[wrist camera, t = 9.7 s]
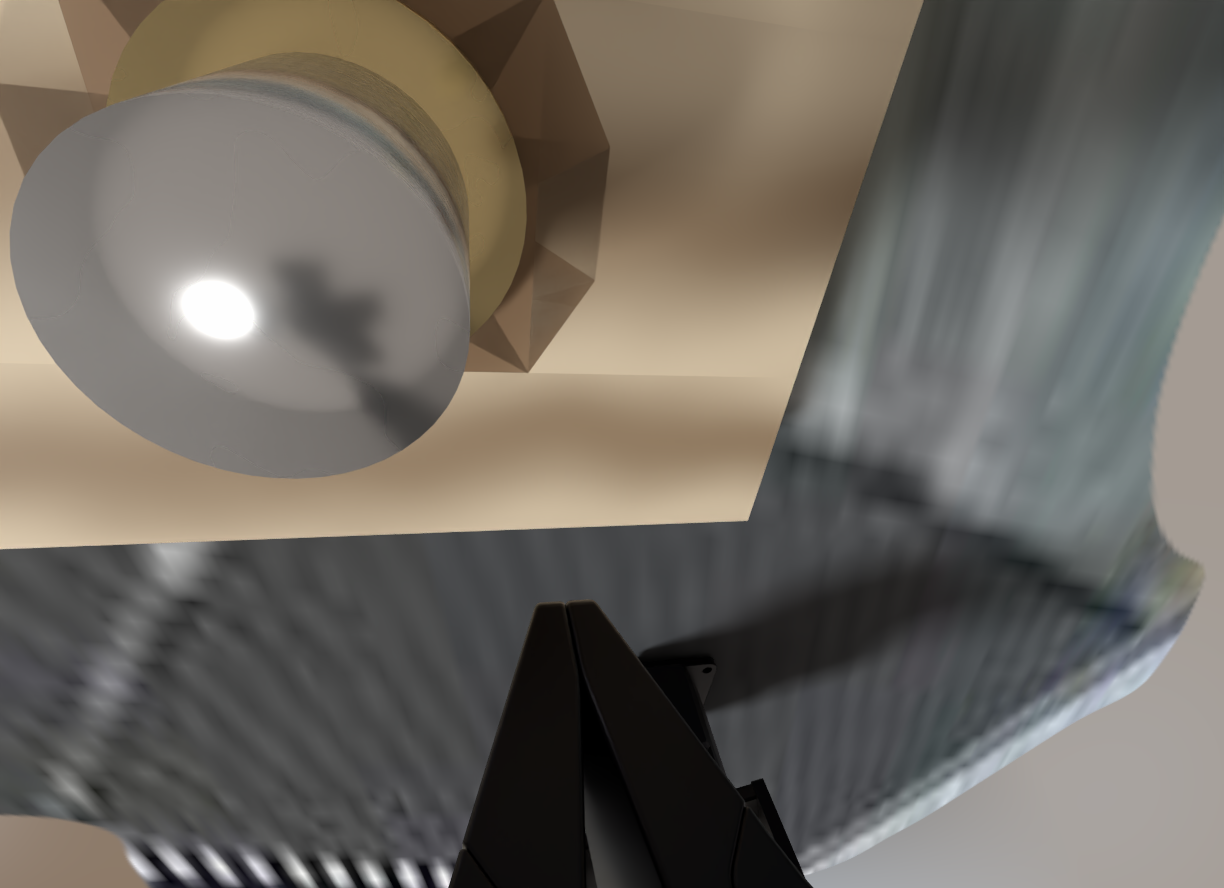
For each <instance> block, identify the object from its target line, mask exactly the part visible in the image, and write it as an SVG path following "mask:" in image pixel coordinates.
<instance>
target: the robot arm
mask: <svg viewBox="0 0 1224 888" xmlns="http://www.w3.org/2000/svg"><path fill="white" fill-rule="evenodd" d="M716 670H717V666H716V664H715V661H714V659H713V658H711V657H704V658H693V659H682V660H671V661H660V662H649V663H641V662H640V660H639V659H638V658H637V656H636V655H635V654H634V652H633V651H632V650H631V648H630V647H629V645H628V644H627V643H626V641H625V640H624V639H623V637H622V636H621V635H620V633H619V632H618V631H617V629H616V628H615V627H614V625H613V624H612V623H611V621H610V620H609V619H608V617H607V616H606V615H605V613H604V612H603V611H602V609H601V608H600V607H599V605H598V604H597V603H596V602H595V601H593V600H589V599H588V600H573V601H568V602H567V603H566V605H565V604H564V603H563V602H560V601H558V602H544V603H538V604H537V605H536V606H535V609H534V612H533V615H532V618H531V622H530V625H529V628H528V631H527V635H526V638H525V641H524V644H523V648H522V651H521V654H520V657H519V661H518V664H517V667H516V670H515V674H514V677H513V680H512V683H511V687H510V690H509V693H508V697H507V700H506V703H505V706H504V710H503V713H502V716H501V719H500V723H499V726H498V729H497V732H496V736H495V739H494V742H493V745H492V749H491V752H490V755H489V758H488V762H487V765H486V768H485V771H484V775H483V778H482V781H481V784H480V788H479V791H478V794H477V797H476V801H475V804H474V807H473V811H472V814H471V817H470V820H469V824H468V827H467V830H466V833H465V837H464V840H463V843H462V844H463V849H462V850H460V852H459V855H458V858H457V861H456V865H455V868H454V871H453V874H452V878H451V881H450V884H449V887H448V888H813V887H812V886H811V885H810V884H809V882H808V881H807V880H806V879H805V877H804V874H803V872H802V869H801V867H800V864H799V862H798V860H797V857H796V855H795V853H794V850H793V848H792V846H791V843H790V841H789V839H788V836H787V834H786V832H785V829H784V827H783V825H782V822H781V820H780V817H779V815H778V813H777V810H776V808H775V806H774V803H773V801H772V799H771V796H770V794H769V792H768V789H767V787H766V785H765V782H764V780H763V778H762V779H758V780H755V781H751V784H750V785H746V786H743V787H740V788H735V787H734V786H733V784H732V783H731V782H730V780H729V779H728V778H727V776H726V773H725V770H724V767H723V764H722V761H721V758H720V755H719V752H718V749H717V746H716V743H715V740H714V737H713V734H712V731H711V728H710V725H709V722H708V719H707V716H706V713H705V710H704V707H703V705H704V703H705V700H706V697H707V694H708V692H709V689H710V686H711V684H712V681H713V678H714V675H715V673H716ZM585 830H586V833H585Z"/></svg>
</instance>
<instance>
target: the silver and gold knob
mask: <svg viewBox="0 0 1224 888" xmlns="http://www.w3.org/2000/svg"><path fill="white" fill-rule="evenodd" d="M526 221H527V215H526V192H525V185H524V178H523V172H522V167H521V164H520V160H519V157H518V153H517V149H516V146H515V142H514V139H513V136H512V134H511V131H510V129H509V126H508V124H507V121H506V119H505V116H504V114H503V111H502V110H501V108H500V106H499V104H498V102H497V100H496V99H495V97H494V95H493V93H492V91H491V90H490V88H489V86H488V85H487V83H486V82H485V80H484V79H483V78H482V76H481V75H480V73H479V72H478V71H477V69H476V68H475V66H474V65H473V64H472V62H471V61H470V60H469V59H468V58H467V57H466V56H465V54H464V53H463V52H462V51H461V50H460V49H459V48H458V47H457V46H456V44H455V43H454V42H453V41H452V40H451V39H450V38H449V37H448V36H446V35H445V34H444V33H443V32H442V31H441V30H440V29H438V28H437V27H436V26H435V25H434V24H433V23H432V22H431V21H429V20H428V19H427V18H425V17H424V16H422V15H421V14H420V13H418V12H417V11H415V10H414V9H412V8H411V7H410V6H408V5H407V4H405V3H404V2H402V1H400V0H164V1H163V2H162V3H160V4H159V5H158V6H157V7H156V8H155V9H154V10H153V11H152V12H151V13H150V14H149V15H148V16H147V17H146V18H145V19H144V20H143V21H142V22H141V23H140V25H139V26H138V27H137V29H136V30H135V32H134V33H133V35H132V36H131V38H130V40H129V41H128V43H127V44H126V46H125V47H124V49H123V51H122V54H121V56H120V59H119V61H118V63H117V66H116V68H115V71H114V73H113V76H112V80H111V85H110V90H109V95H108V99H107V105H106V108H103V109H101V110H99V111H97V112H94V113H92V114H90V115H88V116H85V117H83V118H82V119H80V120H79V121H77V122H76V123H75V124H73V125H72V126H70V127H69V128H67V129H66V130H64V131H63V132H61V133H60V134H59V135H58V136H57V137H56V138H55V139H54V140H53V141H52V142H51V143H50V144H49V145H48V146H47V147H46V148H45V149H44V150H43V151H42V152H41V153H40V154H39V155H38V157H37V158H36V160H35V161H34V163H33V165H32V166H31V168H30V169H29V171H28V173H27V174H26V176H25V177H24V179H23V181H22V184H21V187H20V189H19V192H18V195H17V198H16V200H15V203H14V207H13V213H12V219H11V226H10V261H11V266H12V270H13V275H14V280H15V285H16V289H17V292H18V294H19V297H20V300H21V303H22V305H23V308H24V311H25V313H26V316H27V318H28V319H29V321H30V323H31V325H32V327H33V329H34V331H35V333H36V334H37V336H38V338H39V340H40V342H41V343H42V344H43V346H44V347H45V349H46V350H47V351H48V353H49V354H50V356H51V357H52V359H53V360H54V361H55V363H56V364H57V365H58V367H59V368H60V369H61V370H62V371H63V372H64V373H65V374H66V376H67V377H68V378H69V379H70V380H71V381H72V382H73V383H74V385H75V386H76V387H77V388H78V389H79V390H81V391H82V392H83V393H84V394H85V395H86V396H87V397H88V398H89V399H90V400H91V401H93V402H94V403H95V404H96V405H97V406H98V407H99V408H101V409H102V410H103V411H105V412H106V413H107V414H109V415H110V416H111V417H113V418H114V419H115V420H117V421H118V422H119V423H121V424H122V425H124V426H125V427H127V428H129V429H130V430H132V431H133V432H135V433H137V434H138V435H140V436H142V437H143V438H145V439H147V440H149V441H151V442H153V443H155V444H156V445H158V446H160V447H162V448H164V449H166V450H168V451H170V452H173V453H175V454H178V455H180V456H183V457H185V458H188V459H190V460H193V461H195V462H198V463H202V464H205V465H208V466H212V467H215V468H218V469H222V470H226V471H231V472H236V473H240V474H245V475H251V476H260V477H268V478H288V479H302V478H317V477H326V476H332V475H338V474H344V473H347V472H351V471H355V470H358V469H362V468H365V467H368V466H370V465H373V464H375V463H378V462H380V461H383V460H385V459H387V458H389V457H391V456H393V455H394V454H396V453H398V452H400V451H402V450H404V449H405V448H406V447H408V446H409V445H410V444H412V443H413V442H415V441H416V440H417V439H419V438H420V437H421V436H422V435H423V434H424V433H425V432H426V431H427V430H428V429H429V428H431V427H432V426H433V425H434V424H435V422H436V421H437V420H438V419H439V417H440V416H441V415H442V414H443V412H444V411H445V410H446V408H447V407H448V405H449V403H450V402H451V400H452V398H453V396H454V395H455V393H456V391H457V389H458V386H459V384H460V381H461V378H462V376H463V373H464V370H465V365H466V361H467V356H468V352H469V338H470V336H471V335H473V334H474V333H475V332H476V331H477V330H478V329H479V328H480V327H481V326H482V325H483V324H484V323H485V322H486V321H487V320H488V319H489V318H490V316H491V315H492V314H493V312H494V311H495V310H496V308H497V307H498V306H499V305H500V303H501V302H502V300H503V298H504V296H505V294H506V293H507V291H508V289H509V287H510V286H511V283H512V281H513V278H514V276H515V273H516V271H517V268H518V266H519V262H520V258H521V254H522V250H523V246H524V240H525V230H526Z"/></svg>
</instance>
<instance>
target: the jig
mask: <svg viewBox="0 0 1224 888" xmlns="http://www.w3.org/2000/svg"><path fill="white" fill-rule="evenodd" d="M163 1H164V0H0V549H16V548H42V547H68V546H95V545H121V544H147V543H174V542H200V541H226V540H253V539H279V538H305V537H332V536H358V535H384V534H411V533H437V532H463V531H490V530H516V529H542V528H569V527H595V526H621V525H648V524H674V523H700V522H727V521H748V518H749V515H750V512H751V510H752V507H753V504H754V501H755V498H756V495H757V492H758V489H759V486H760V483H761V480H762V477H763V474H764V471H765V468H766V465H767V462H768V459H769V456H770V453H771V450H772V447H773V445H774V442H775V439H776V436H777V433H778V430H779V427H780V424H781V421H782V418H783V415H784V412H785V409H786V406H787V403H788V400H789V397H790V394H791V391H792V388H793V385H794V382H795V379H796V377H797V374H798V371H799V368H800V365H801V362H802V359H803V356H804V353H805V350H806V347H807V344H808V341H809V338H810V335H811V332H812V329H813V326H814V323H815V320H816V317H817V314H818V311H819V309H820V306H821V303H822V300H823V297H824V294H825V291H826V288H827V285H828V282H829V279H830V276H831V273H832V270H833V267H834V264H835V261H836V258H837V255H838V252H839V249H840V246H841V243H842V241H843V238H844V235H845V232H846V229H847V226H848V223H849V220H850V217H851V214H852V211H853V208H854V205H855V202H856V199H857V196H858V193H859V190H860V187H861V184H862V181H863V178H864V176H865V173H866V170H867V167H868V164H869V161H870V158H871V155H872V152H873V149H874V146H875V143H876V140H877V137H878V134H879V131H880V128H881V125H882V122H883V119H884V116H885V113H886V110H887V108H888V105H889V102H890V99H891V96H892V93H893V90H894V87H895V84H896V81H897V78H898V75H899V72H900V69H901V66H902V63H903V60H904V57H905V54H906V51H907V48H908V45H909V42H910V40H911V37H912V34H913V31H914V28H915V25H916V22H917V19H918V16H919V13H920V10H921V7H922V4H923V1H924V0H400V1H402V2H404V3H405V4H407V5H408V6H410V7H411V8H412V9H414V10H415V11H417V12H418V13H420V14H421V15H422V16H424V17H425V18H427V19H428V20H429V21H431V22H432V23H433V24H434V25H435V26H436V27H437V28H438V29H440V30H441V31H442V32H443V33H444V34H445V35H446V36H448V37H449V38H450V39H451V40H452V41H453V42H454V43H455V44H456V46H457V47H458V48H459V49H460V50H461V51H462V52H463V53H464V54H465V56H466V57H467V58H468V59H469V60H470V61H471V62H472V64H473V65H474V66H475V68H476V69H477V71H478V72H479V73H480V75H481V76H482V78H483V79H484V80H485V82H486V83H487V85H488V86H489V88H490V90H491V91H492V93H493V95H494V97H495V99H496V100H497V102H498V104H499V106H500V108H501V110H502V111H503V114H504V116H505V119H506V121H507V124H508V126H509V129H510V131H511V134H512V136H513V139H514V142H515V146H516V149H517V153H518V157H519V160H520V164H521V167H522V172H523V178H524V185H525V192H526V215H527V221H526V230H525V240H524V246H523V250H522V254H521V258H520V262H519V266H518V268H517V271H516V273H515V276H514V278H513V281H512V283H511V286H510V287H509V289H508V291H507V293H506V294H505V296H504V298H503V300H502V302H501V303H500V305H499V306H498V307H497V308H496V310H495V311H494V312H493V314H492V315H491V316H490V318H489V319H488V320H487V321H486V322H485V323H484V324H483V325H482V326H481V327H480V328H479V329H478V330H477V331H476V332H475V333H474V334H473V335H471V336H470V338H469V352H468V356H467V361H466V365H465V370H464V373H463V376H462V378H461V381H460V384H459V386H458V389H457V391H456V393H455V395H454V396H453V398H452V400H451V402H450V403H449V405H448V407H447V408H446V410H445V411H444V412H443V414H442V415H441V416H440V417H439V419H438V420H437V421H436V422H435V424H434V425H433V426H432V427H431V428H429V429H428V430H427V431H426V432H425V433H424V434H423V435H422V436H421V437H420V438H419V439H417V440H416V441H415V442H413V443H412V444H410V445H409V446H408V447H406V448H405V449H404V450H402V451H400V452H398V453H396V454H394V455H393V456H391V457H389V458H387V459H385V460H383V461H380V462H378V463H375V464H373V465H370V466H368V467H365V468H362V469H358V470H355V471H351V472H347V473H344V474H338V475H332V476H326V477H317V478H302V479H288V478H268V477H260V476H251V475H245V474H240V473H236V472H231V471H226V470H222V469H218V468H215V467H212V466H208V465H205V464H202V463H198V462H195V461H193V460H190V459H188V458H185V457H183V456H180V455H178V454H175V453H173V452H170V451H168V450H166V449H164V448H162V447H160V446H158V445H156V444H155V443H153V442H151V441H149V440H147V439H145V438H143V437H142V436H140V435H138V434H137V433H135V432H133V431H132V430H130V429H129V428H127V427H125V426H124V425H122V424H121V423H119V422H118V421H117V420H115V419H114V418H113V417H111V416H110V415H109V414H107V413H106V412H105V411H103V410H102V409H101V408H99V407H98V406H97V405H96V404H95V403H94V402H93V401H91V400H90V399H89V398H88V397H87V396H86V395H85V394H84V393H83V392H82V391H81V390H79V389H78V388H77V387H76V386H75V385H74V383H73V382H72V381H71V380H70V379H69V378H68V377H67V376H66V374H65V373H64V372H63V371H62V370H61V369H60V368H59V367H58V365H57V364H56V363H55V361H54V360H53V359H52V357H51V356H50V354H49V353H48V351H47V350H46V349H45V347H44V346H43V344H42V343H41V342H40V340H39V338H38V336H37V334H36V333H35V331H34V329H33V327H32V325H31V323H30V321H29V319H28V318H27V316H26V313H25V311H24V308H23V305H22V303H21V300H20V297H19V294H18V292H17V289H16V285H15V280H14V275H13V270H12V266H11V261H10V226H11V219H12V213H13V207H14V203H15V200H16V198H17V195H18V192H19V189H20V187H21V184H22V181H23V179H24V177H25V176H26V174H27V173H28V171H29V169H30V168H31V166H32V165H33V163H34V161H35V160H36V158H37V157H38V155H39V154H40V153H41V152H42V151H43V150H44V149H45V148H46V147H47V146H48V145H49V144H50V143H51V142H52V141H53V140H54V139H55V138H56V137H57V136H58V135H59V134H60V133H61V132H63V131H64V130H66V129H67V128H69V127H70V126H72V125H73V124H75V123H76V122H77V121H79V120H80V119H82V118H83V117H85V116H88V115H90V114H92V113H94V112H97V111H99V110H101V109H103V108H106V105H107V99H108V95H109V90H110V85H111V80H112V76H113V73H114V71H115V68H116V66H117V63H118V61H119V59H120V56H121V54H122V51H123V49H124V47H125V46H126V44H127V43H128V41H129V40H130V38H131V36H132V35H133V33H134V32H135V30H136V29H137V27H138V26H139V25H140V23H141V22H142V21H143V20H144V19H145V18H146V17H147V16H148V15H149V14H150V13H151V12H152V11H153V10H154V9H155V8H156V7H157V6H158V5H159V4H160V3H162V2H163Z"/></svg>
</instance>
